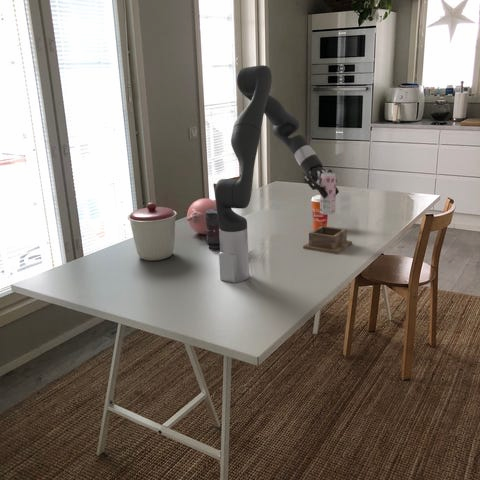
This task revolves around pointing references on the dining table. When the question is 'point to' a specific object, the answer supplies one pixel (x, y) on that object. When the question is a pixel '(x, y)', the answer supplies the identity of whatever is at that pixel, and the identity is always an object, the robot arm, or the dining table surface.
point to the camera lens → (212, 230)
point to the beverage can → (330, 186)
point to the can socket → (328, 240)
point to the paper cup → (318, 213)
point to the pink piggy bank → (199, 214)
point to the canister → (153, 231)
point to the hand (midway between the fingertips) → (331, 195)
